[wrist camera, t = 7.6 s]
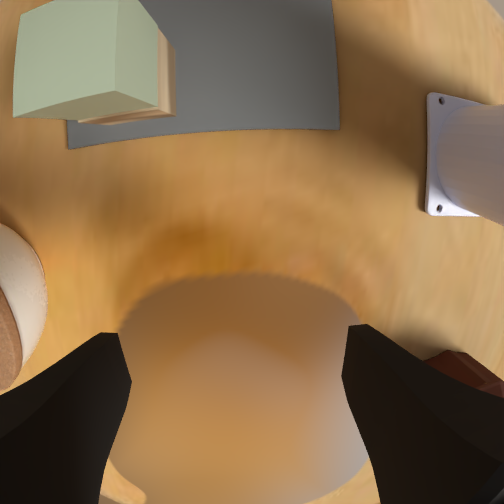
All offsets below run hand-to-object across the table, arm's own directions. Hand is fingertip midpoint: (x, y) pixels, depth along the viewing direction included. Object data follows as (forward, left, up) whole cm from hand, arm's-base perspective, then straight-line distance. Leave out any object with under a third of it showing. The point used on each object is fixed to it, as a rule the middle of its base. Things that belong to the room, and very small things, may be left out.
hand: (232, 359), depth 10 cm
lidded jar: (+17, +1, -11) cm, 20 cm away
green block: (+5, -10, -6) cm, 13 cm away
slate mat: (+2, -13, -10) cm, 17 cm away
